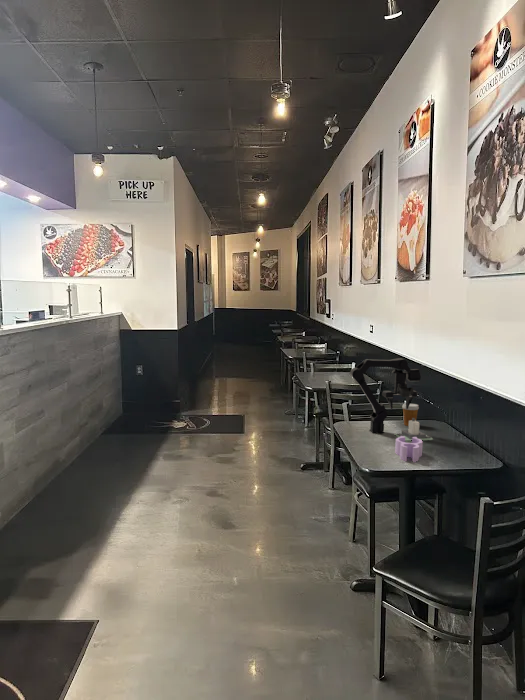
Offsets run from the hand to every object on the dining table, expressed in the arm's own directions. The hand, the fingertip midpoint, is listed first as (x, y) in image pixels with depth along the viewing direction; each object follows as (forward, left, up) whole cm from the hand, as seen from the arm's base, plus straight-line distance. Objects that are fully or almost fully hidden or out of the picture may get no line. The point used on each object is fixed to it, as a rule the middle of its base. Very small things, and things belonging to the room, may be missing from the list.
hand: (399, 409), depth 299 cm
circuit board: (+3, -12, -13) cm, 18 cm away
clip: (-14, -41, -13) cm, 45 cm away
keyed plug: (+3, -12, -12) cm, 17 cm away
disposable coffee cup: (+14, +14, -13) cm, 24 cm away
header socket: (+3, -12, -13) cm, 18 cm away
